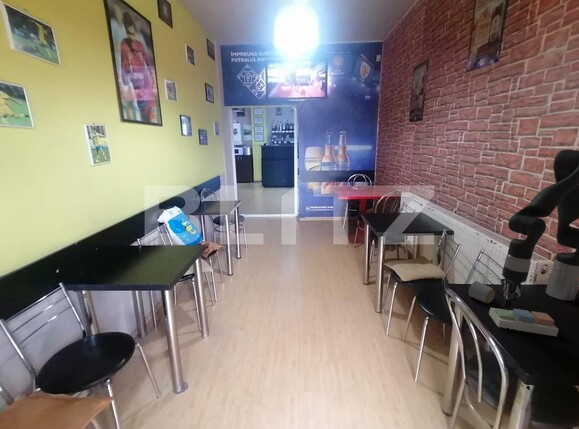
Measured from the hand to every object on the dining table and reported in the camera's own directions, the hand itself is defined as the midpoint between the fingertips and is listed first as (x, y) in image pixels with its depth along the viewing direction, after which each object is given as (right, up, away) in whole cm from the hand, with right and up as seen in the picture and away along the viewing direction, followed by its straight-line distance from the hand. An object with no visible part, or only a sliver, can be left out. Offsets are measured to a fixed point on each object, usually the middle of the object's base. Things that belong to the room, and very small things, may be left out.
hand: (506, 307), depth 113 cm
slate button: (+6, -5, 0) cm, 7 cm away
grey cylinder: (+2, -2, +18) cm, 19 cm away
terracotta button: (+12, -5, -2) cm, 13 cm away
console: (+6, -7, 0) cm, 9 cm away
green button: (0, -5, +1) cm, 5 cm away
